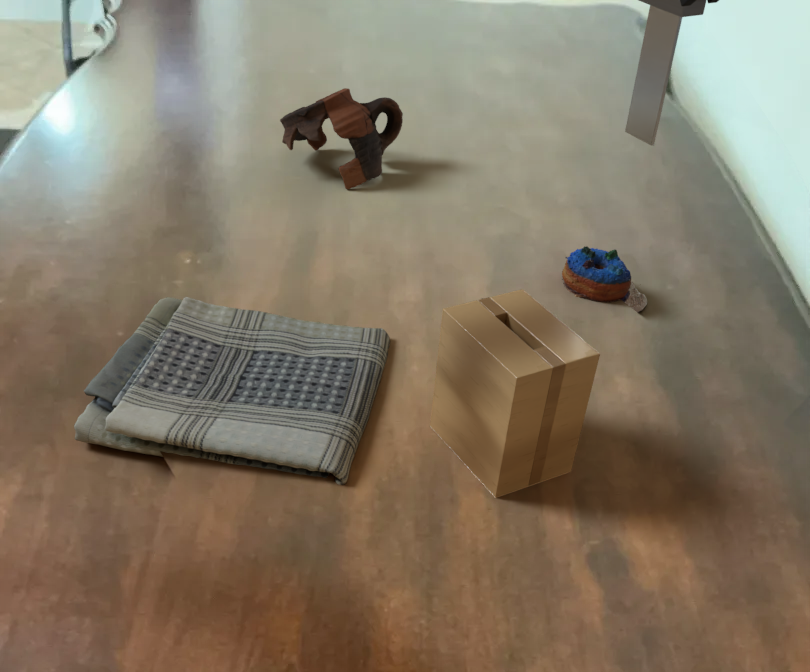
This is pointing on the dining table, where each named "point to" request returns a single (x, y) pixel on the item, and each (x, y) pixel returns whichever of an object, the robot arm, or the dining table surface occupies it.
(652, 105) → the knife
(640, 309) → the dessert
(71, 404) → the dining table surface
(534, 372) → the knife block
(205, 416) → the dish towel
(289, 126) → the brown wooden irregular piece
